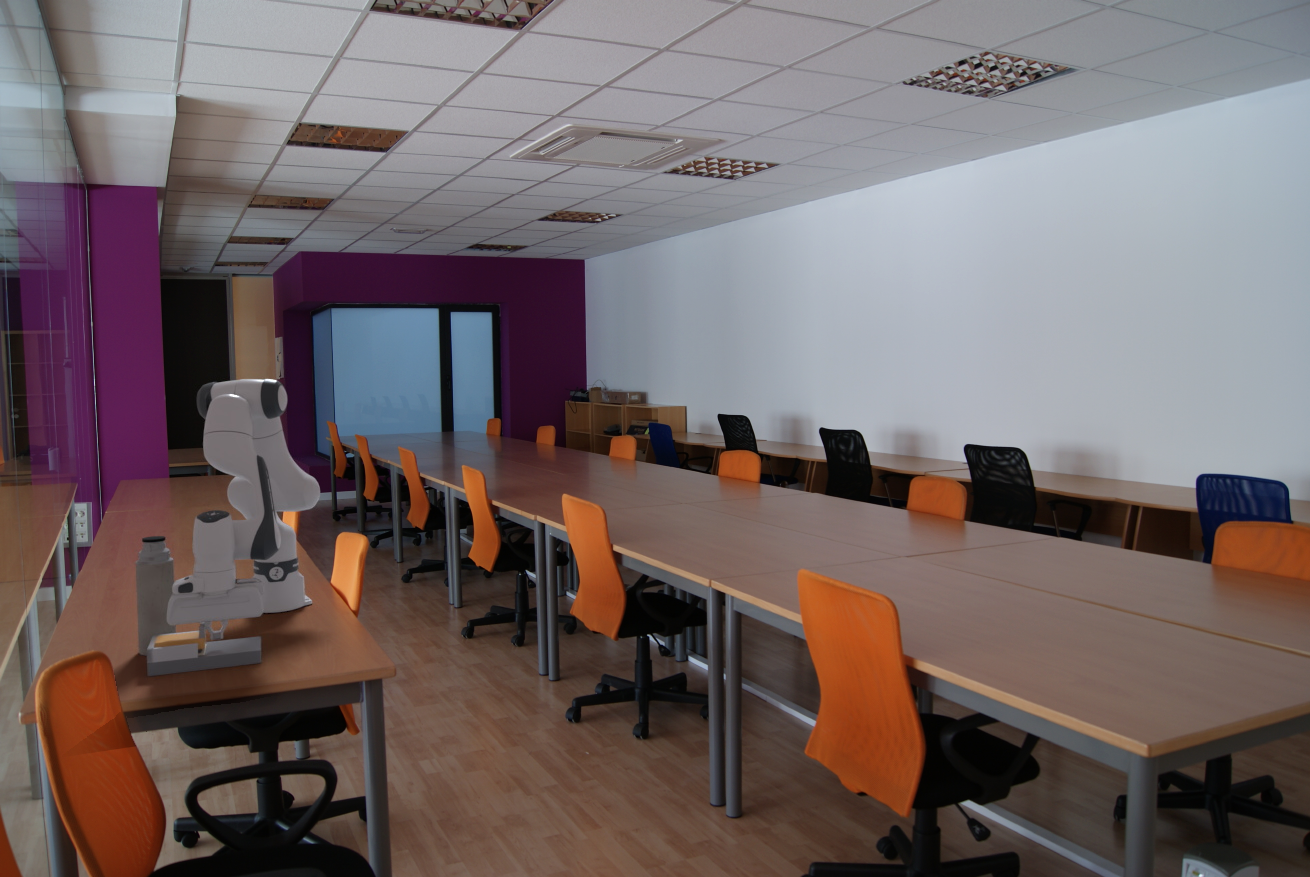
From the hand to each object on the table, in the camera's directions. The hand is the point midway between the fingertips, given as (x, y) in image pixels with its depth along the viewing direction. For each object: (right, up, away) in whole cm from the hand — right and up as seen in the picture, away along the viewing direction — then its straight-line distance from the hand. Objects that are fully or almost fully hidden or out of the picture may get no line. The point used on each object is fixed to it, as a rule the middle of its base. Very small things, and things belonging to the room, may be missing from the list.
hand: (216, 639), depth 203 cm
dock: (-2, -5, 0) cm, 6 cm away
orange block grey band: (-7, -2, -3) cm, 8 cm away
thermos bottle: (-18, -5, +8) cm, 20 cm away
